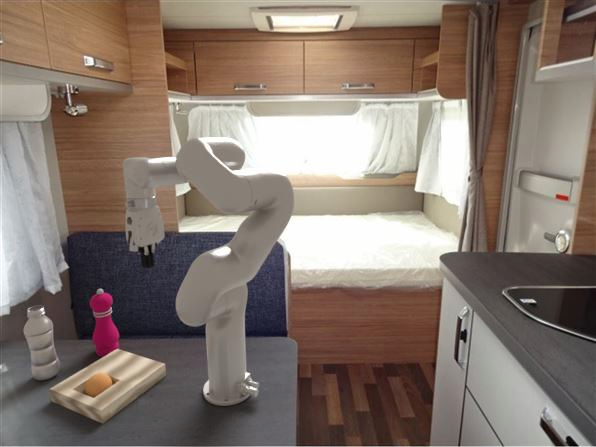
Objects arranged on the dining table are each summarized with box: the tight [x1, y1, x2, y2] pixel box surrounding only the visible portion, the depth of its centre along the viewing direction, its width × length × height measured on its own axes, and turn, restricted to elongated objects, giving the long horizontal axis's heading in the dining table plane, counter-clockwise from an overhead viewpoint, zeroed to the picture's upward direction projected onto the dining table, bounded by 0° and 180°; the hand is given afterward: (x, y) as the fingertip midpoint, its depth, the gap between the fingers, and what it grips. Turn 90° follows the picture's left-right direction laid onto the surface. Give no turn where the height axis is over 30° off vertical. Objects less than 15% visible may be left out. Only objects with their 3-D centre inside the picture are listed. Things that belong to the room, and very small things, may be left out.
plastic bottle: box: [23, 304, 61, 381], centre depth 105 cm, size 6×7×20 cm
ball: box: [85, 373, 112, 398], centre depth 99 cm, size 6×6×6 cm
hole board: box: [49, 348, 167, 424], centre depth 102 cm, size 18×20×4 cm
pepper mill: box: [89, 288, 120, 357], centre depth 118 cm, size 7×7×20 cm
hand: (148, 266), depth 113 cm, fingers closed
